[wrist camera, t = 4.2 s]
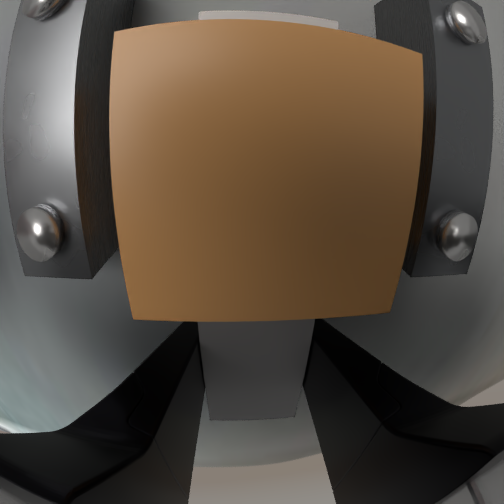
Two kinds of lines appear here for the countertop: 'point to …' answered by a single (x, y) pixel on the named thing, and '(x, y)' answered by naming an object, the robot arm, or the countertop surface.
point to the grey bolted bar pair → (98, 142)
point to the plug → (261, 187)
